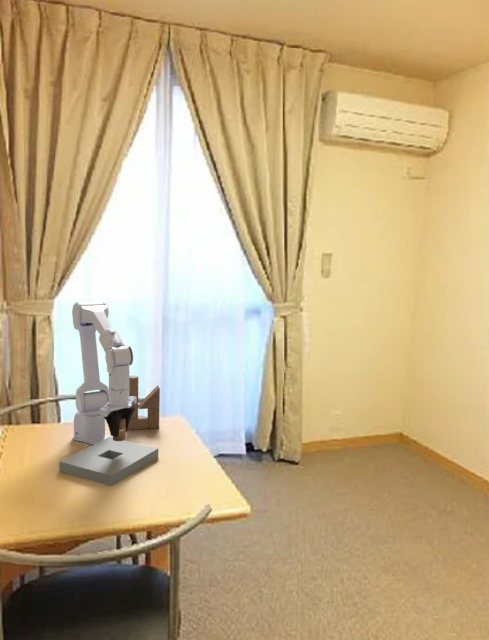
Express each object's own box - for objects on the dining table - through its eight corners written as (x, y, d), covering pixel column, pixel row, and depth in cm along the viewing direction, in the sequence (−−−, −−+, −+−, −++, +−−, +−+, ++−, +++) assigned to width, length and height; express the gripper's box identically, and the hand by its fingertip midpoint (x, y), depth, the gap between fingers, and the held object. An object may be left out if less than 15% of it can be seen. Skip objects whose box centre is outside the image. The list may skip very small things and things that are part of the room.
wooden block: (159, 428, 201) (160, 377, 198) (127, 430, 197) (127, 378, 194) (157, 424, 204) (158, 374, 201) (126, 426, 201) (126, 375, 198)
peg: (110, 439, 169) (110, 419, 168) (117, 435, 172) (117, 416, 171) (120, 442, 168) (120, 422, 167) (128, 438, 171) (128, 418, 170)
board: (59, 471, 164) (59, 461, 163) (109, 446, 183) (109, 436, 183) (111, 486, 156) (111, 475, 156) (158, 457, 176) (158, 448, 175)
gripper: (114, 396, 159) (114, 444, 162) (145, 384, 172) (144, 428, 175) (93, 392, 162) (93, 439, 165) (125, 380, 175) (125, 424, 178)
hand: (118, 433), depth 170 cm, fingers closed on peg, 4 cm apart
